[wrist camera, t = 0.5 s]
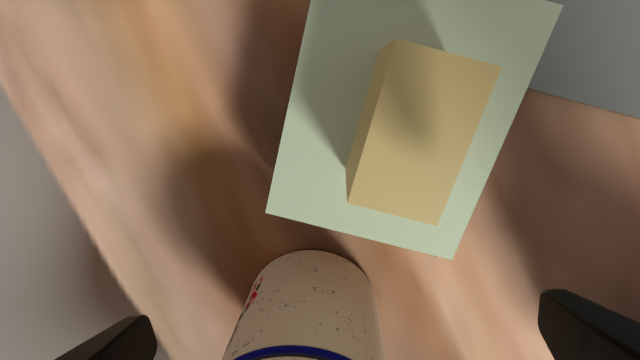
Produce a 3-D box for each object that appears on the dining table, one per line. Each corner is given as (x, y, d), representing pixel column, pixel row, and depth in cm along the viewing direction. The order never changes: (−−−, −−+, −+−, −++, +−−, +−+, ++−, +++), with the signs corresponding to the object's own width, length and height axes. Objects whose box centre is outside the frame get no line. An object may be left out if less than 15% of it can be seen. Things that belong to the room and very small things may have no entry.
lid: (536, 13, 14) (668, -27, 8) (441, 242, 17) (489, 321, 12) (325, -45, 13) (316, -125, 8) (272, 199, 17) (240, 259, 11)
